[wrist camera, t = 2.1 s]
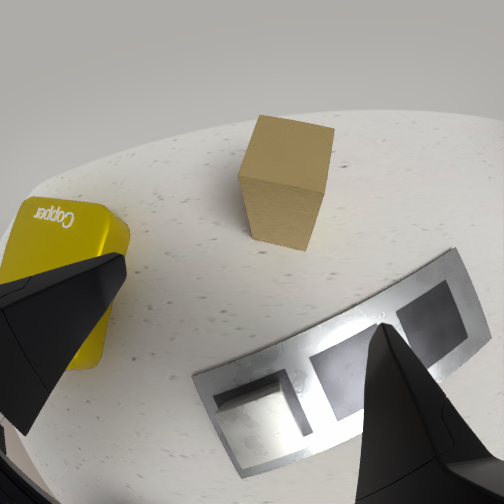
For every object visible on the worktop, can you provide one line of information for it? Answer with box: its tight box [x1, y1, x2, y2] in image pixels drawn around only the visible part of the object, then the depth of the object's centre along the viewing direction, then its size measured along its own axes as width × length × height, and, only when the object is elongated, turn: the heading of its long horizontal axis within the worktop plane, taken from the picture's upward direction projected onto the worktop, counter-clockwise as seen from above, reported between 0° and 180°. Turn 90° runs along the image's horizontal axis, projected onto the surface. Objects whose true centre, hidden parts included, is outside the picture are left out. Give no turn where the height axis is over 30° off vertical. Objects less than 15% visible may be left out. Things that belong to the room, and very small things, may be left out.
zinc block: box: [214, 381, 306, 469], centre depth 17 cm, size 4×4×4 cm
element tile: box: [0, 197, 130, 370], centre depth 23 cm, size 15×15×5 cm
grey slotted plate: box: [192, 247, 492, 479], centre depth 20 cm, size 26×10×1 cm, turn 113°
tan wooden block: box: [238, 115, 335, 251], centre depth 19 cm, size 4×4×10 cm
